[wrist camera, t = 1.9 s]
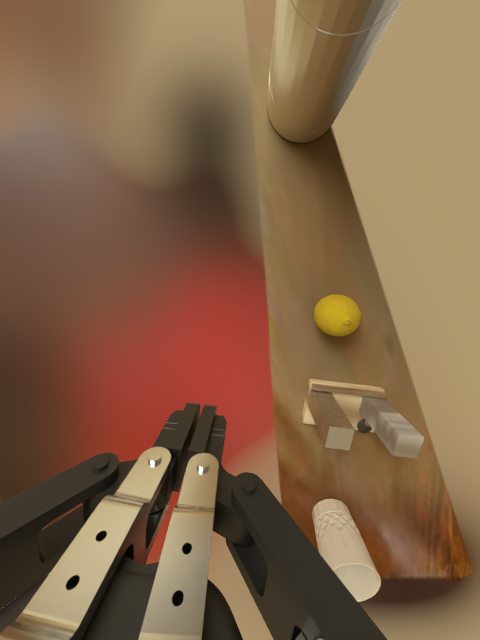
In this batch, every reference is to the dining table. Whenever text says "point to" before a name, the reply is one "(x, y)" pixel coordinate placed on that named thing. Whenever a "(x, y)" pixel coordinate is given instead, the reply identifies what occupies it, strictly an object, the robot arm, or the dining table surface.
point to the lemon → (337, 315)
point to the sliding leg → (330, 420)
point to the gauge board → (370, 415)
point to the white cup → (345, 549)
